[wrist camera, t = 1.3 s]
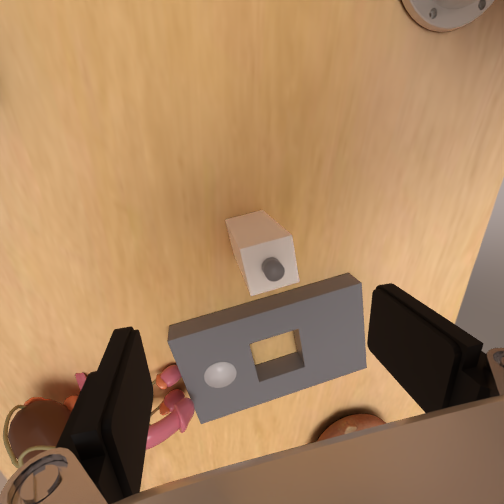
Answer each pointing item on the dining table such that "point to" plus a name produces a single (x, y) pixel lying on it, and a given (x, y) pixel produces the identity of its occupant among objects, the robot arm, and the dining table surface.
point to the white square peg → (262, 252)
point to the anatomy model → (56, 414)
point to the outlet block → (265, 326)
